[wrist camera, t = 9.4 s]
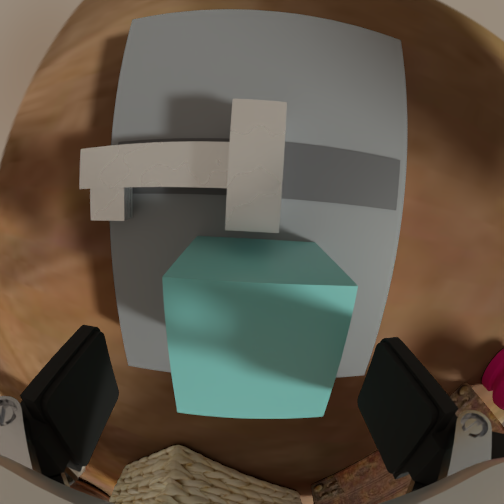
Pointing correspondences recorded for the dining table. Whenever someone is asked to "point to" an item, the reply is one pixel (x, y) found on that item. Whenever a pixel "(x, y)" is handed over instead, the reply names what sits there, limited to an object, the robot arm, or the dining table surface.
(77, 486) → the cup and saucer
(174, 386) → the cube block
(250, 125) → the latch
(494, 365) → the pepper mill
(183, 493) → the storage basket
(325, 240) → the base
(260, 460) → the dining table surface
